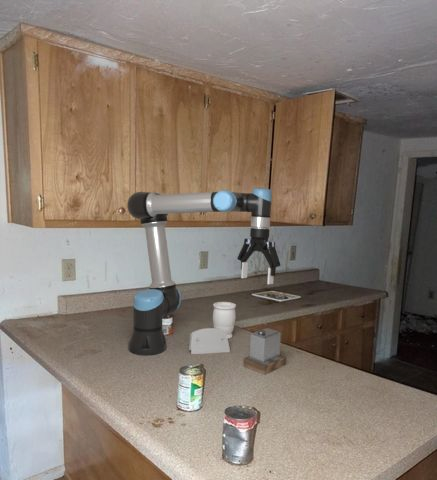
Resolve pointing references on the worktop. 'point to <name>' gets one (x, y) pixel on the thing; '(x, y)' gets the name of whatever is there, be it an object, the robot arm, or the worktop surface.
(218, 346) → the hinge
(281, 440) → the worktop surface
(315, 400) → the worktop surface
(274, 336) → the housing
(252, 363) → the stand
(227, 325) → the jar
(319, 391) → the worktop surface
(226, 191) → the robot arm
